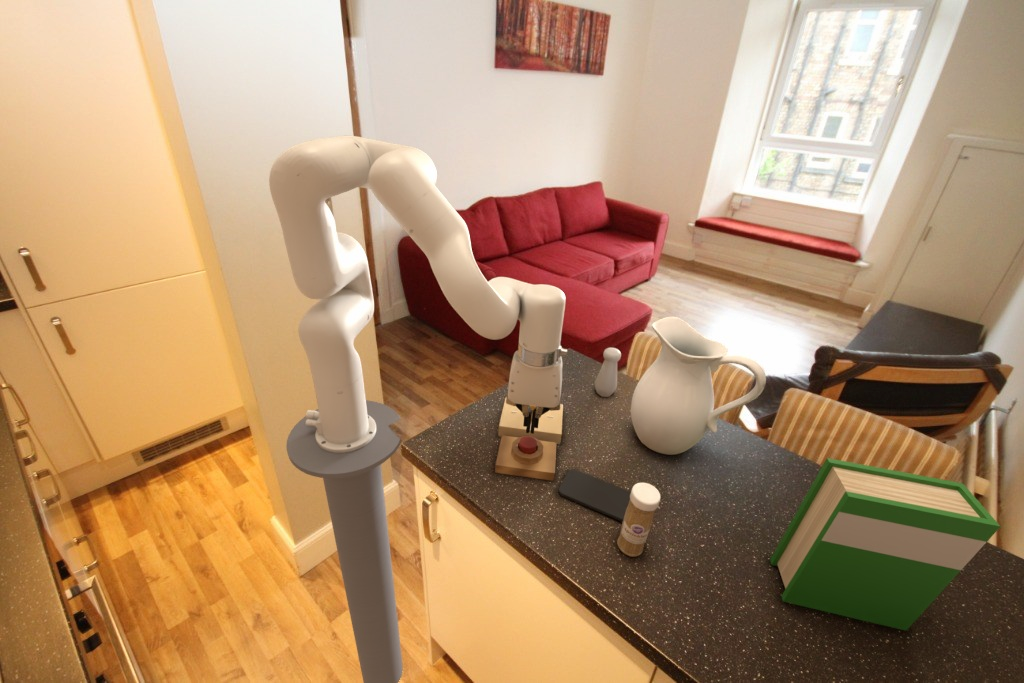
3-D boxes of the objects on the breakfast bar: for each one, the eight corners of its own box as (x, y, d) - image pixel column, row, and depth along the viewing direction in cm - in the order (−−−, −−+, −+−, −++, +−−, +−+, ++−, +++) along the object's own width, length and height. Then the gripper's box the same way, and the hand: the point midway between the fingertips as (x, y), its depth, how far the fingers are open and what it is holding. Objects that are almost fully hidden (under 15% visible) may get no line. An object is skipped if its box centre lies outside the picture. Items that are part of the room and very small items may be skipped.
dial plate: (498, 436, 100) (498, 425, 99) (504, 406, 110) (505, 396, 108) (560, 444, 99) (561, 433, 98) (561, 414, 109) (563, 403, 107)
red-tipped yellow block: (529, 406, 106) (531, 390, 103) (537, 407, 106) (538, 391, 103) (527, 421, 101) (529, 404, 99) (535, 422, 101) (537, 405, 98)
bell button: (518, 453, 91) (518, 446, 90) (519, 441, 94) (520, 434, 93) (535, 455, 91) (536, 449, 90) (536, 443, 94) (537, 437, 93)
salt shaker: (592, 396, 116) (600, 353, 110) (593, 384, 121) (601, 342, 115) (614, 400, 115) (624, 358, 109) (615, 388, 120) (624, 346, 114)
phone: (570, 467, 92) (642, 496, 87) (569, 470, 93) (641, 499, 87) (556, 491, 86) (633, 524, 81) (556, 494, 87) (632, 527, 81)
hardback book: (783, 601, 71) (848, 496, 59) (770, 560, 77) (826, 457, 66) (906, 630, 68) (1000, 526, 56) (882, 585, 75) (962, 483, 63)
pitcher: (610, 433, 104) (634, 328, 90) (650, 406, 114) (677, 308, 100) (705, 497, 89) (752, 382, 75) (742, 460, 99) (789, 353, 85)
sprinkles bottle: (619, 557, 76) (635, 502, 69) (614, 534, 80) (629, 480, 73) (646, 558, 76) (664, 504, 69) (639, 535, 80) (656, 481, 73)
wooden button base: (494, 472, 91) (495, 458, 89) (501, 442, 99) (502, 428, 97) (553, 481, 90) (555, 466, 88) (555, 450, 98) (557, 436, 96)
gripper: (579, 346, 84) (567, 421, 93) (501, 337, 86) (497, 413, 95) (579, 367, 78) (566, 446, 87) (495, 357, 79) (491, 436, 88)
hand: (530, 428), depth 91 cm, fingers closed
